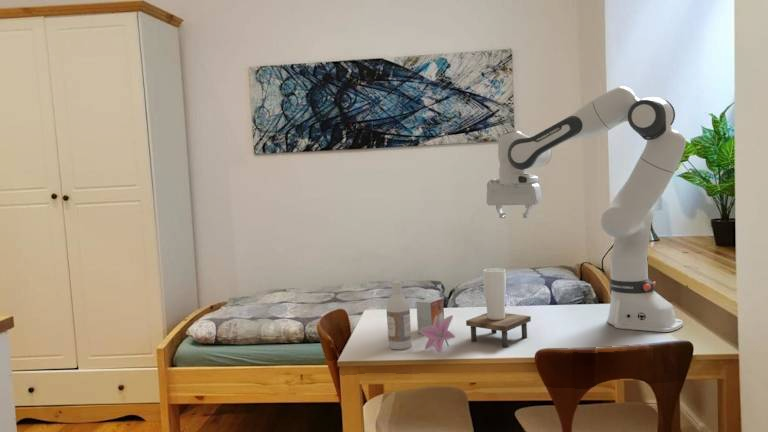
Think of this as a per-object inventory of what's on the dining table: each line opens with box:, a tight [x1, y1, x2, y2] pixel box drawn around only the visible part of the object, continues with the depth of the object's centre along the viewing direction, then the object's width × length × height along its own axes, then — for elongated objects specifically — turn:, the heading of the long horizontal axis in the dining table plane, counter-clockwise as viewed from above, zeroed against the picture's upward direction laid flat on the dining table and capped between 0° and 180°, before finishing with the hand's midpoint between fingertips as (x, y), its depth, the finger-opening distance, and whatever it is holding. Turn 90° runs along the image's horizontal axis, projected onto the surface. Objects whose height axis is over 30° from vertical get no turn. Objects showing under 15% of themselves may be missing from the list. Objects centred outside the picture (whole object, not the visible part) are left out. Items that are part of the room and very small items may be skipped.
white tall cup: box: [482, 267, 507, 320], centre depth 203 cm, size 7×7×15 cm
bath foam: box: [386, 280, 412, 351], centre depth 202 cm, size 7×7×20 cm
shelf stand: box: [465, 312, 532, 348], centre depth 204 cm, size 14×14×6 cm
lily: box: [420, 314, 456, 355], centre depth 198 cm, size 12×12×10 cm
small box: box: [415, 296, 445, 334], centre depth 218 cm, size 8×6×10 cm
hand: (514, 218), depth 234 cm, fingers open, 8 cm apart
